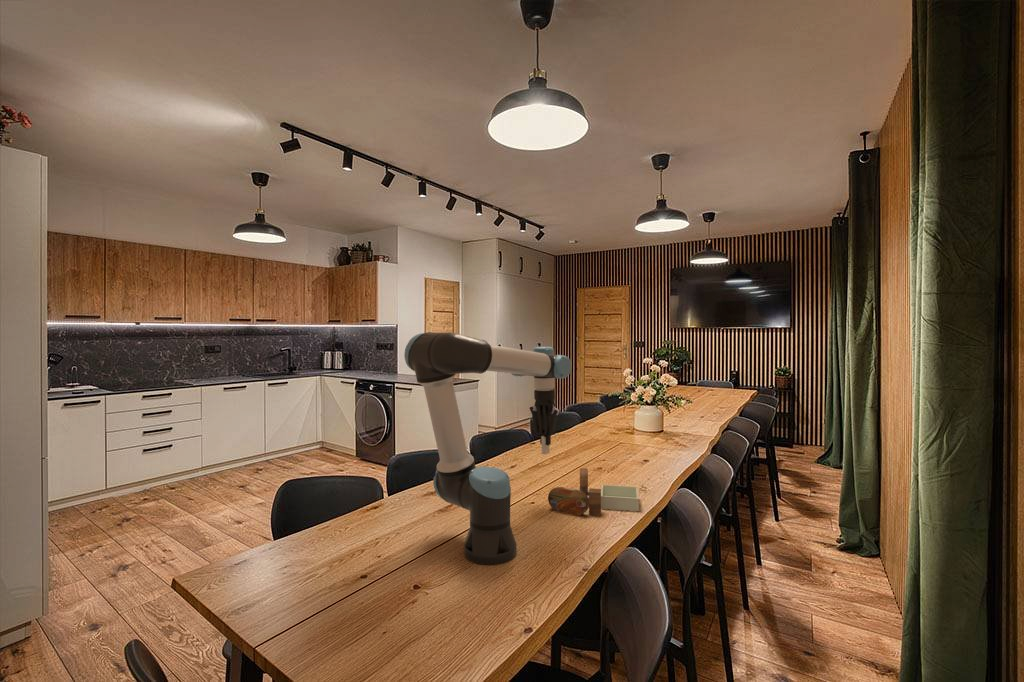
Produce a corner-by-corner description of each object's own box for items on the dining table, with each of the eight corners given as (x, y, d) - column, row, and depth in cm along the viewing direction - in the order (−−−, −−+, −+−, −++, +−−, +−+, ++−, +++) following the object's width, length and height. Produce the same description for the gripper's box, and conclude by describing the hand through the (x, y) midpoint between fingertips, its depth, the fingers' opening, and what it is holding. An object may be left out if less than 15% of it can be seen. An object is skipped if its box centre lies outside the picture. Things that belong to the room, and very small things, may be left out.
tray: (638, 511, 168) (638, 498, 168) (600, 508, 171) (600, 496, 171) (637, 498, 181) (637, 486, 181) (601, 496, 184) (601, 484, 184)
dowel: (587, 503, 177) (587, 470, 177) (579, 502, 177) (579, 470, 177) (588, 500, 180) (588, 468, 179) (580, 499, 180) (580, 468, 180)
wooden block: (600, 515, 164) (600, 492, 164) (589, 514, 165) (588, 492, 165) (600, 511, 168) (600, 488, 168) (589, 510, 169) (589, 488, 169)
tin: (547, 509, 171) (547, 486, 171) (551, 506, 173) (551, 483, 173) (586, 518, 163) (586, 493, 163) (590, 515, 165) (590, 490, 165)
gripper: (565, 389, 172) (566, 454, 172) (537, 386, 181) (538, 448, 181) (552, 391, 166) (553, 458, 167) (524, 388, 175) (525, 452, 176)
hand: (545, 453), depth 174 cm, fingers closed
